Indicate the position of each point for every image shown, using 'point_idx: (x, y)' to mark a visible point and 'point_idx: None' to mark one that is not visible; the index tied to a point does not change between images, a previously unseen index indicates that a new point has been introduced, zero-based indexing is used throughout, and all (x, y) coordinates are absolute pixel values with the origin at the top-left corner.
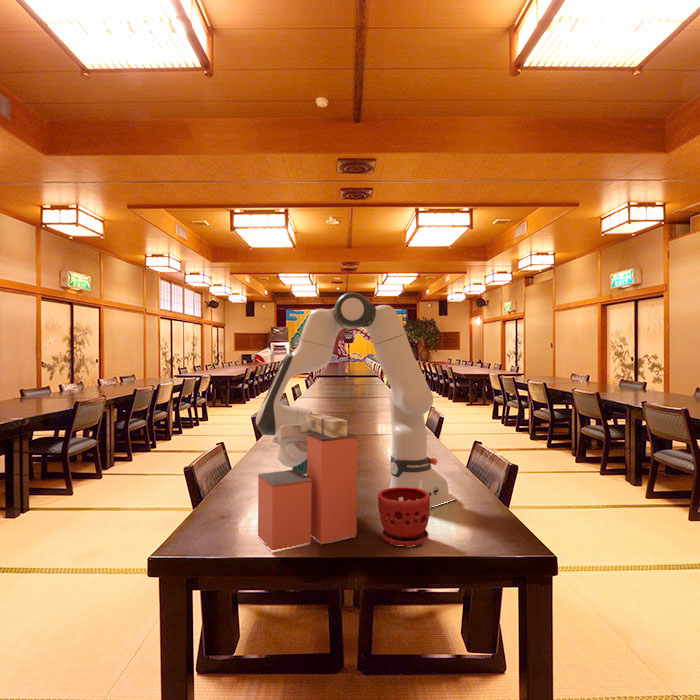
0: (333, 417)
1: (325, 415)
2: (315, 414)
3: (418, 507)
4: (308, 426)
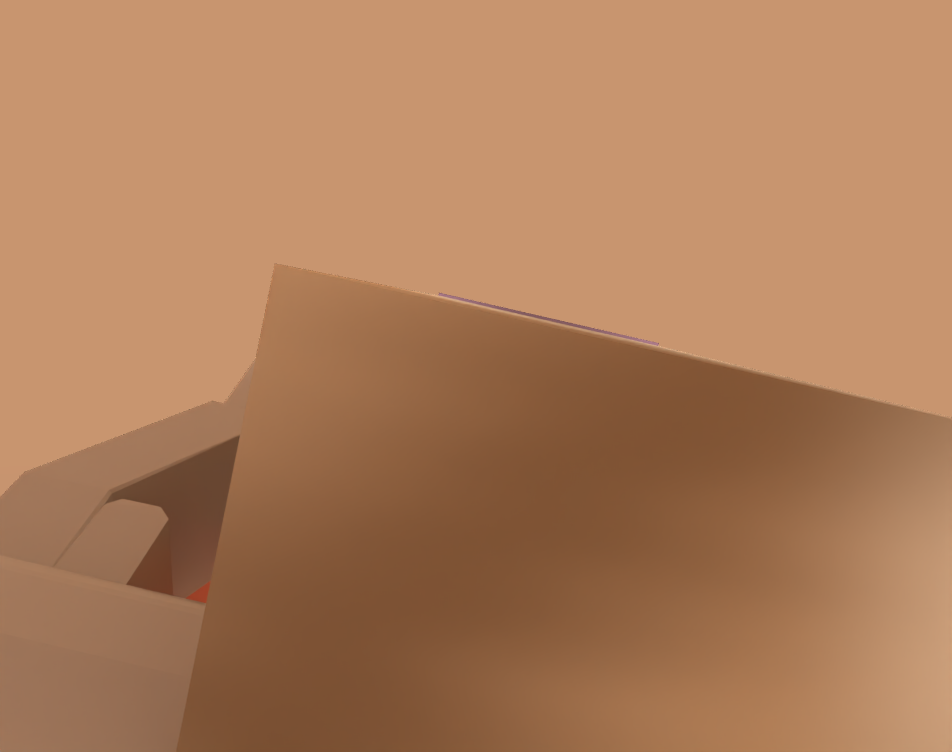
0: (451, 298)
1: (420, 292)
2: (586, 332)
3: None
4: None
